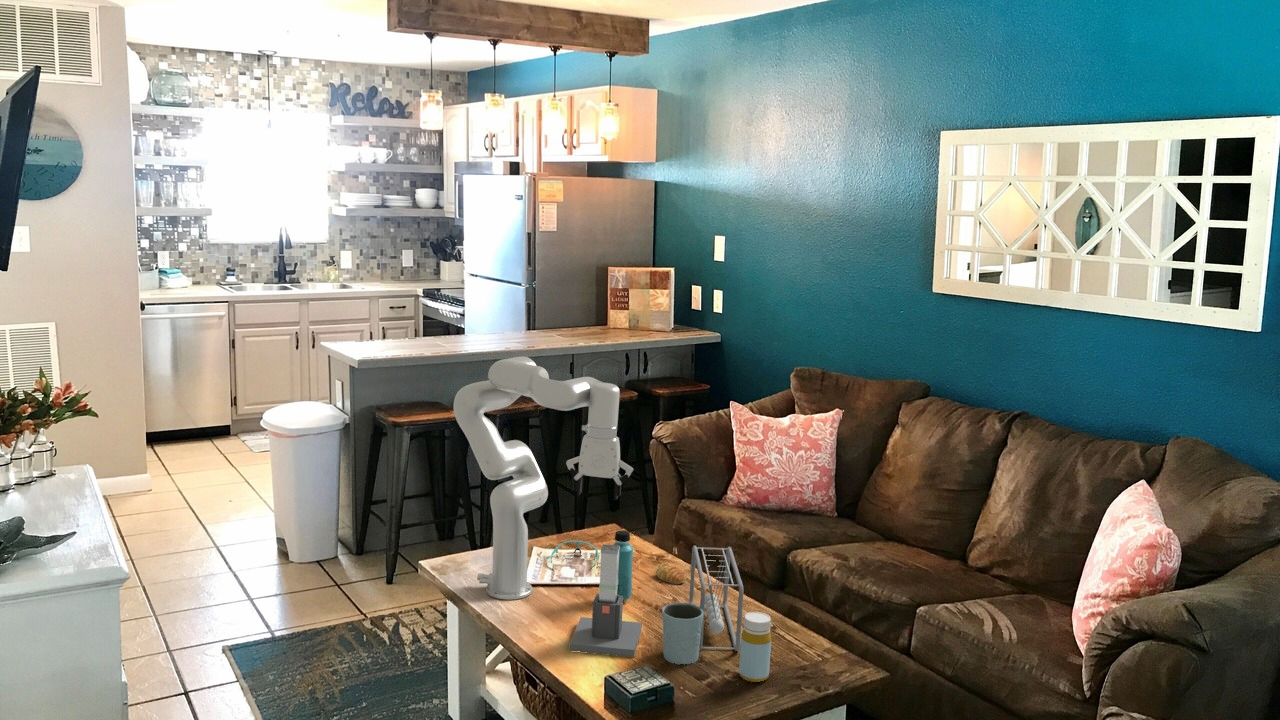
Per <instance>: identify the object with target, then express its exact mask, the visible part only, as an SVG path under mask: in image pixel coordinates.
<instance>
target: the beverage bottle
mask: <svg viewBox="0 0 1280 720" xmlns="http://www.w3.org/2000/svg"><path fill="white" fill-rule="evenodd" d="M614 533H615V536H614V541H615V542H614V543H613V544H612V545H617V546H620V549H619V568H618V590H617V595H619V596H623V601H627V600H629V599H631V596H632V594H633V593H632V591H633V590H632V587H633V585H632V584H633V559H634V558H633V556H634V547H633V545H632V544H631V543H629V542H630V540H631V533H630V532H629V531H627V530H622V529H621V530H617V531H615V532H614Z"/></svg>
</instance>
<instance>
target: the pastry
mask: <svg viewBox="0 0 1280 720" xmlns="http://www.w3.org/2000/svg"><path fill="white" fill-rule="evenodd" d="M655 575H656V576H657V577H658V578H659V579H660V580H661V581H664V582H667V583H669V584H672V585H673V584H674V585H681V584H683V583H685V582H686V580H687V577H686V576H685V573H684V572H683V570H681V569H680V568H679V566H676V565H675V564H672V565H671V564H670V563H669V562H668V563H667V562H664V563H663V562H662V564H660V565H659V566H658V567H657V569H656V571H655Z"/></svg>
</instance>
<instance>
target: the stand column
mask: <svg viewBox="0 0 1280 720" xmlns="http://www.w3.org/2000/svg"><path fill="white" fill-rule="evenodd" d="M619 549H620V546H617V545H613V544H602V547H601V549H600V570H599V574H600V575H599V585H598V589H599V593H598V594H599V602H601V603H613V604H617V590H618V568H619Z"/></svg>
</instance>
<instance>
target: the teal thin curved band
mask: <svg viewBox="0 0 1280 720" xmlns="http://www.w3.org/2000/svg"><path fill="white" fill-rule="evenodd" d="M569 543H570V544H572V543H573V544H574V543H575V544H576V548H575V550H574V551H573V553H575V554H576V552H577V551H579V554H580V553H581V552H582V550H581V548H580V544H585V545H588V546H590V547H592V548H593V549H595V557H597V558H596V560H595V562H594V564H593V565H592V566H591V568H593V567H594V568H595V566H596V565H597V563H598V559H599V550H598V549H597V547H596V546H594V545H593V544H592V543H590V542H587V541H583V540H569V541H568V540H567V541H564V542H562V543H560V544H558V545H556V546H555V548H554V549H553V551H552V552H551V554H550V555H551V556H550V564H551V563H552V564H553V561H552V560H553V555H555V554H556V553H559V547H560V546H563V545H566V544H569ZM594 568H593V569H594Z"/></svg>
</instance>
